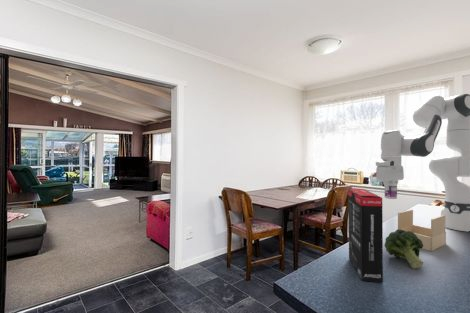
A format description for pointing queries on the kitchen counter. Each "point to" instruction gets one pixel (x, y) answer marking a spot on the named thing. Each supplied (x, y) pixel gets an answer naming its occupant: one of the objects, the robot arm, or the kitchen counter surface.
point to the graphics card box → (366, 234)
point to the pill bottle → (391, 190)
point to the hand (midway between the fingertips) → (390, 189)
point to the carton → (425, 230)
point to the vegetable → (405, 246)
